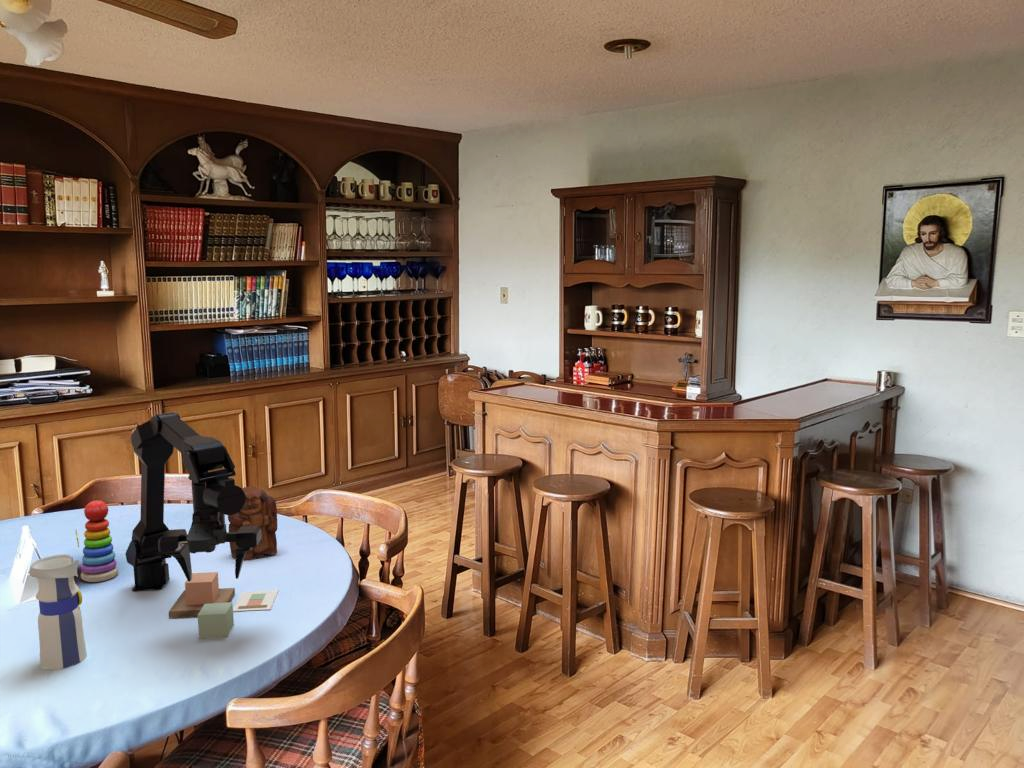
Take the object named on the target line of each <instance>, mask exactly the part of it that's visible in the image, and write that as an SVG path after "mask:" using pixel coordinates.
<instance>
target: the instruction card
mask: <svg viewBox="0 0 1024 768" xmlns="http://www.w3.org/2000/svg"><path fill="white" fill-rule="evenodd" d="M278 594H279V589H276V590H275V589H274V590H262V591H261V590H254V591H242V592H241V594H240V595H239V597H238V599H237V601H236V603H235V605H234V606H233V613H236V612H238V613H239V612H255V611H256V612H257V611H271V609H272V608H273V605H274V603H275V600H276V598H277V596H278Z"/></svg>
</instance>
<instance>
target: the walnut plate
mask: <svg viewBox="0 0 1024 768" xmlns="http://www.w3.org/2000/svg"><path fill="white" fill-rule="evenodd" d="M235 595H236V588H235V587H226V588H225V587H224V588H219V594H218V596H217V598H216V600H215V601H214V603H228V602H232V601H233V599H234V597H235ZM203 606H204V604H201V605H186V592H185V590H183V591H182V593H181V594H180V595H179V597H178V598H177V600H175V602H174V604H173V605H172V606H171V608H170V610H169V611H168V618H169V619H179V618H183V619H184V618H195V617H196V618H198V614H199V612H200V611H201V609H202V607H203Z"/></svg>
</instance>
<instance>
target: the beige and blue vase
mask: <svg viewBox="0 0 1024 768" xmlns="http://www.w3.org/2000/svg"><path fill="white" fill-rule="evenodd" d="M74 531H75V536H76V542H77V543H76V544H77V547H78V548H80V542H79V537H78V536H79V535H78V532H77V529H74ZM79 561H80V560H79V559H76V560H74V557H73V556H72V555H69V554H66V553H65V554H55V555H50V556H46V557H43V558H39V559H36V560H35V561H33V562H31V564H30V567H29V576H31V577H32V578H34V579H36V580H37V583H38V591H37V593H36V595H35V598H36V599H37V600H38V606H39V613H38V617H37V629H38V640H39V641H38V642H39V665H40V667H41V668H43V669H45V670H51V671H53V670H62V669H66V668H70V667H73V666H75V665H78V664H79V663H81V662H83V661H84V660H85V659H86V658H87V655H88V654H87V647H86V641H85V640H86V639H85V634H84V626H83V616H82V610H81V605H82V604H83V595H82V591H81V589H80V588H79V586H78V585H77V584H76V582H75V576H76V577H77V578H78V577H79V575H78V567H79Z"/></svg>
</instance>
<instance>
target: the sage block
mask: <svg viewBox="0 0 1024 768" xmlns="http://www.w3.org/2000/svg"><path fill="white" fill-rule="evenodd" d="M233 608H234V605H233V602H232V601H231V602H228V603H211V604H204V606H203V607H202V609H201V611H200V612H199V614H198V617H197V627H198V638H199V640H200V639H215V638H216V639H217V638H229V636H230V634H231V631H232V629H233V627H234V625H235V622H234V612H233Z"/></svg>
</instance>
